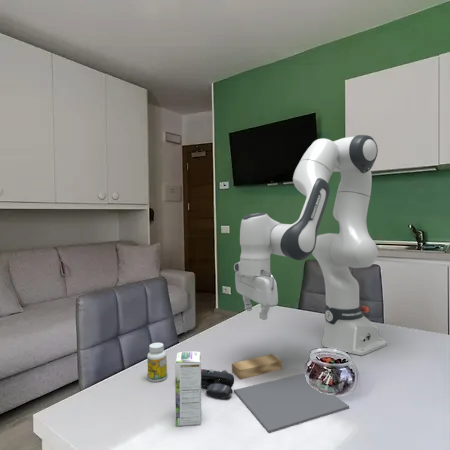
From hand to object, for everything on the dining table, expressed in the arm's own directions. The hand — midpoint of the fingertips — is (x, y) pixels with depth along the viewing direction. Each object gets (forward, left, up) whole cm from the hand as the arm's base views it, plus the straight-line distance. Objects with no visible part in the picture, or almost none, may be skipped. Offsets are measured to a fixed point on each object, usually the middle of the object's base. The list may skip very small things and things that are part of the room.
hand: (255, 314), depth 98 cm
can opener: (+17, +3, -17) cm, 25 cm away
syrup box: (+25, +14, -17) cm, 33 cm away
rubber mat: (0, +17, -17) cm, 24 cm away
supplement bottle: (+28, -8, -17) cm, 34 cm away
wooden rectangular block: (0, 0, -17) cm, 17 cm away
